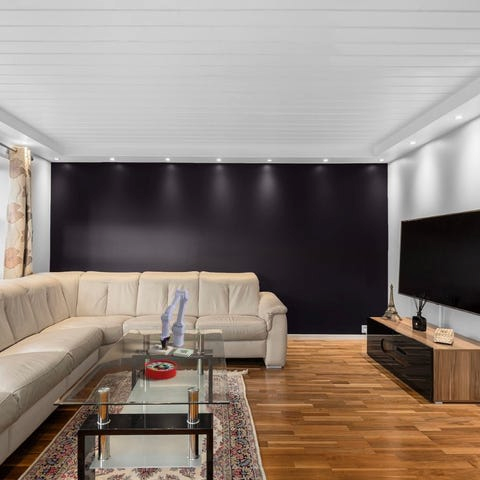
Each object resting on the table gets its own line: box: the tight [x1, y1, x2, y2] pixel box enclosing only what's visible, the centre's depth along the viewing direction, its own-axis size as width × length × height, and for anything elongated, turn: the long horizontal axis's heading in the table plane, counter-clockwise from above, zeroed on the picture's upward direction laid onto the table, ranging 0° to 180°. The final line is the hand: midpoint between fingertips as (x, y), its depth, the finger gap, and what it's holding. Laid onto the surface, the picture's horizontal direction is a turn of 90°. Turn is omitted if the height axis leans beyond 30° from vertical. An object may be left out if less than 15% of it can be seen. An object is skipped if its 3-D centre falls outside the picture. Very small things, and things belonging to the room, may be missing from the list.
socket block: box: [147, 344, 174, 356], centre depth 314 cm, size 14×14×2 cm
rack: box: [172, 347, 195, 358], centre depth 310 cm, size 12×12×2 cm
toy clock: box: [144, 359, 178, 381], centre depth 270 cm, size 20×6×20 cm
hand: (164, 346), depth 313 cm, fingers closed on peg, 4 cm apart
